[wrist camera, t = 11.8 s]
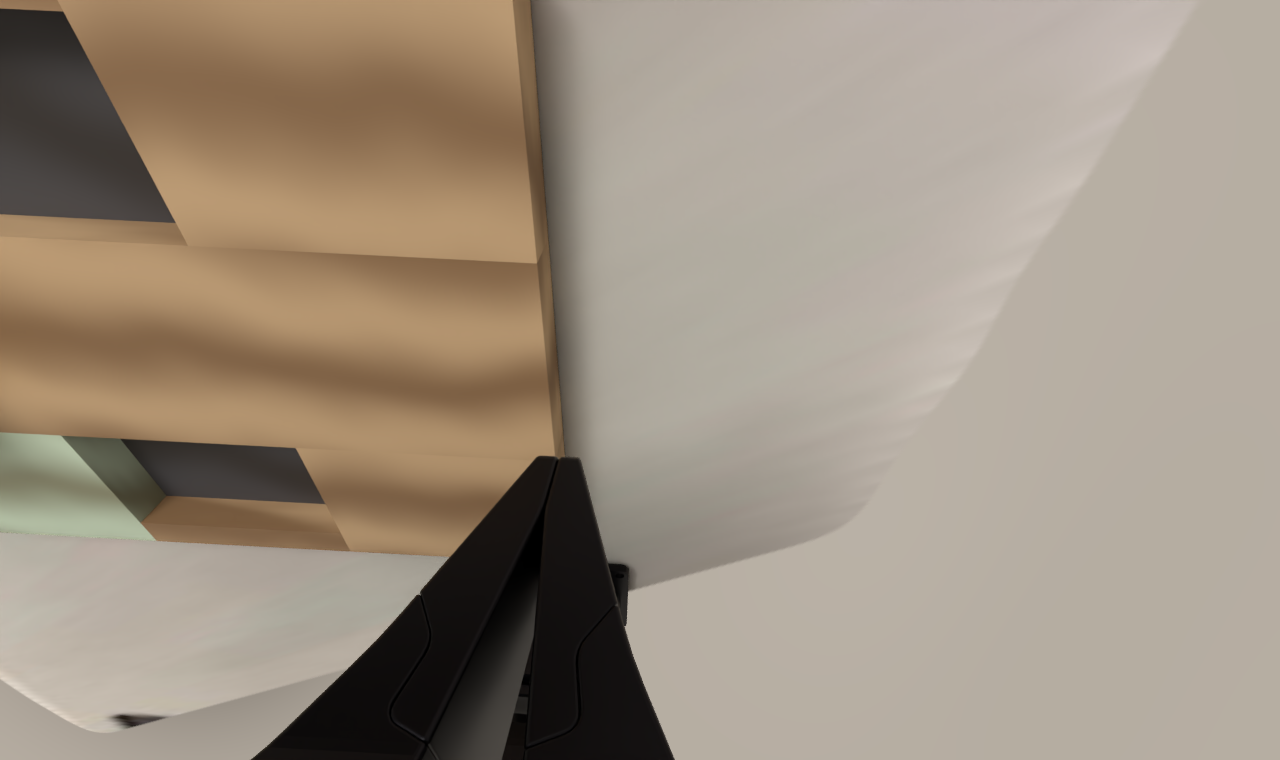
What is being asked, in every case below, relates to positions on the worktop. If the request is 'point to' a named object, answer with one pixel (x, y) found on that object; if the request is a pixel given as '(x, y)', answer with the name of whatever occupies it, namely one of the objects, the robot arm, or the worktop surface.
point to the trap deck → (271, 270)
